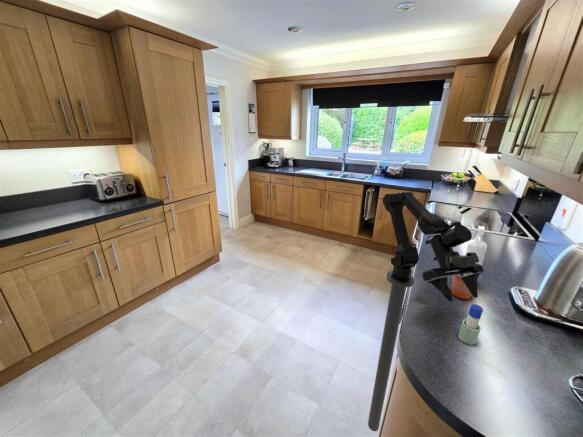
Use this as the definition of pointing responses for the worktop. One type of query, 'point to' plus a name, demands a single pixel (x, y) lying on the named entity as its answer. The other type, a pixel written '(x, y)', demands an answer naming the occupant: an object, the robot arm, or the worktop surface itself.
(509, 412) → the worktop surface
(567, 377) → the worktop surface
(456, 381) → the worktop surface
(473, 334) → the glass
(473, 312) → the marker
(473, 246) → the white bottle
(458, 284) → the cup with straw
